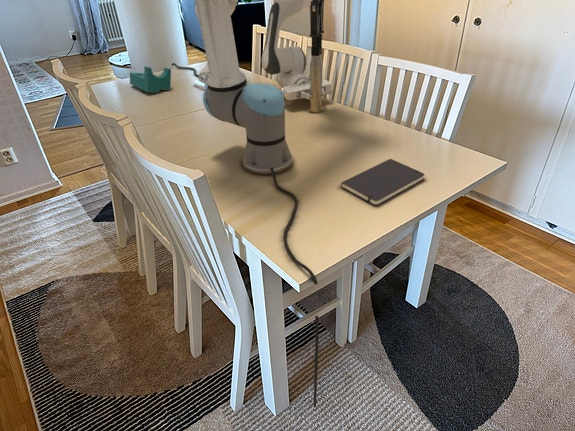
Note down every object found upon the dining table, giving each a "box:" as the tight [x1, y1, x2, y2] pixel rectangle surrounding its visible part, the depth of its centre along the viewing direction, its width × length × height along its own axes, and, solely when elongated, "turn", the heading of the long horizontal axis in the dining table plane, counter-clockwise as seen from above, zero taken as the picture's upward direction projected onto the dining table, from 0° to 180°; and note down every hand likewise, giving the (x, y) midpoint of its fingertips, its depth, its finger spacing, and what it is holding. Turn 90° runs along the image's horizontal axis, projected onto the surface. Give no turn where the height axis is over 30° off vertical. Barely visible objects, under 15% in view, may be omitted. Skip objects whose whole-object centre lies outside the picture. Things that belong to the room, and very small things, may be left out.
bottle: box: [309, 55, 324, 114], centre depth 154 cm, size 5×5×23 cm
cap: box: [310, 46, 323, 56], centre depth 148 cm, size 4×4×2 cm
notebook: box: [340, 158, 425, 206], centre depth 114 cm, size 13×2×21 cm
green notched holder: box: [129, 65, 172, 94], centre depth 185 cm, size 18×11×10 cm, turn 43°
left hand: (317, 95), depth 157 cm, fingers closed on bottle, 5 cm apart
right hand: (316, 53), depth 148 cm, fingers closed on cap, 4 cm apart
